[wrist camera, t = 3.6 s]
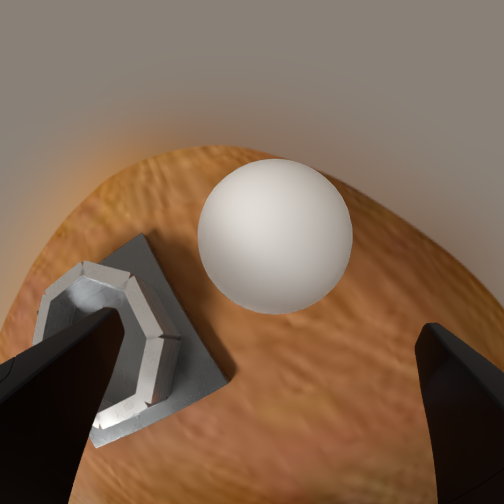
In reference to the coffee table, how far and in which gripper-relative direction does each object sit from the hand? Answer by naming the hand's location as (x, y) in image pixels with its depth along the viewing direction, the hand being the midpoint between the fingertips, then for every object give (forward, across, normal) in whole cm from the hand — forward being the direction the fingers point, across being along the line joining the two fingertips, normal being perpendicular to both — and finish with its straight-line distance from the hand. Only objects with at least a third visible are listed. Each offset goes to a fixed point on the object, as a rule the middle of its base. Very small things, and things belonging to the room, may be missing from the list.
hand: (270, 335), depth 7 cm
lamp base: (+6, +11, +9) cm, 15 cm away
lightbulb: (+10, 0, +5) cm, 12 cm away
